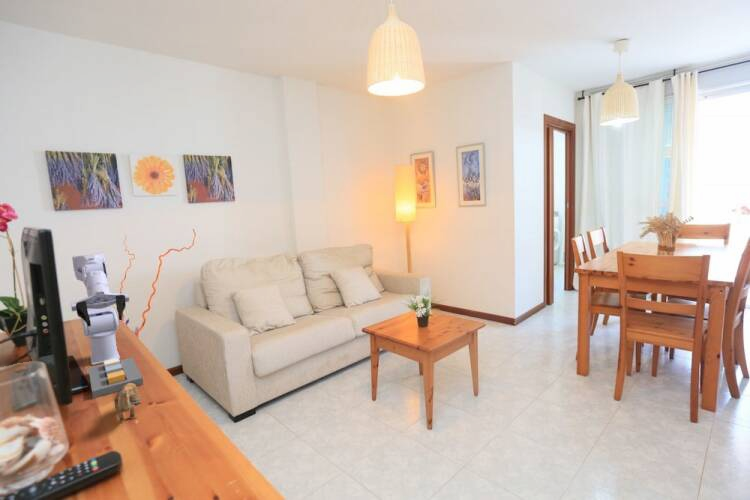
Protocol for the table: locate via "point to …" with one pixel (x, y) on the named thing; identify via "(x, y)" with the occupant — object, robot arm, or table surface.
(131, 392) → the lion figurine
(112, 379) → the orange button
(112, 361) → the cream button
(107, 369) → the slate-blue button
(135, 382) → the button board
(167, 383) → the table surface
